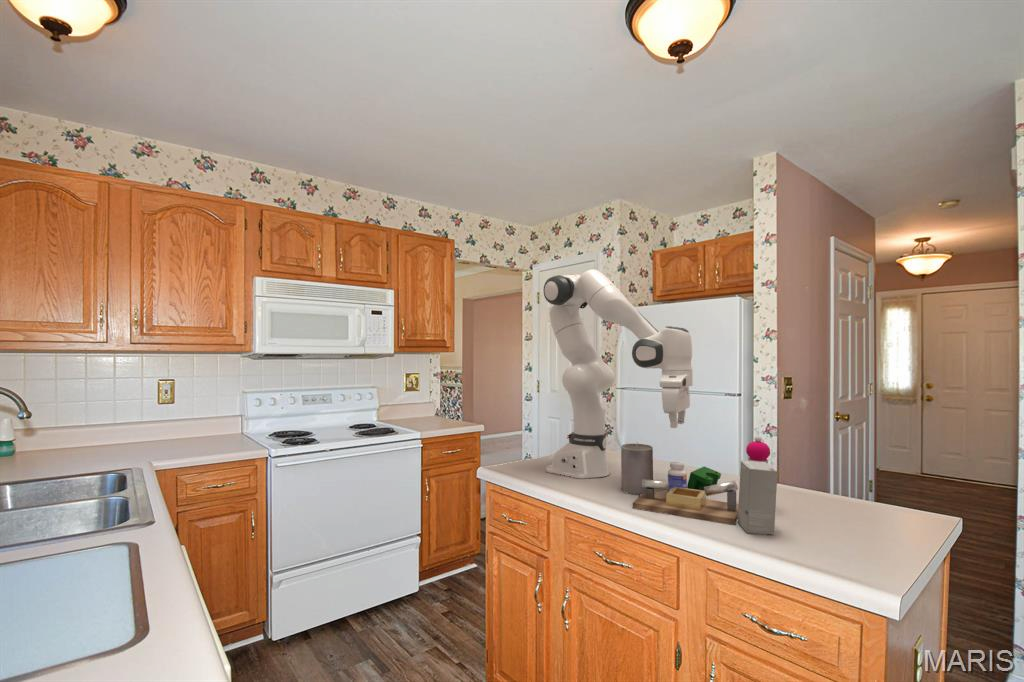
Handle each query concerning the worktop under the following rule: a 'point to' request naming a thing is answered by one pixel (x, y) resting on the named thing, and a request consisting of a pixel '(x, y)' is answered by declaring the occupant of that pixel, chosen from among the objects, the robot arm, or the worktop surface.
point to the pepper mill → (758, 450)
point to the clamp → (703, 478)
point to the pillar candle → (636, 467)
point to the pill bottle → (677, 475)
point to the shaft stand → (690, 501)
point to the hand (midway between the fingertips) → (677, 425)
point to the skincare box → (757, 497)
